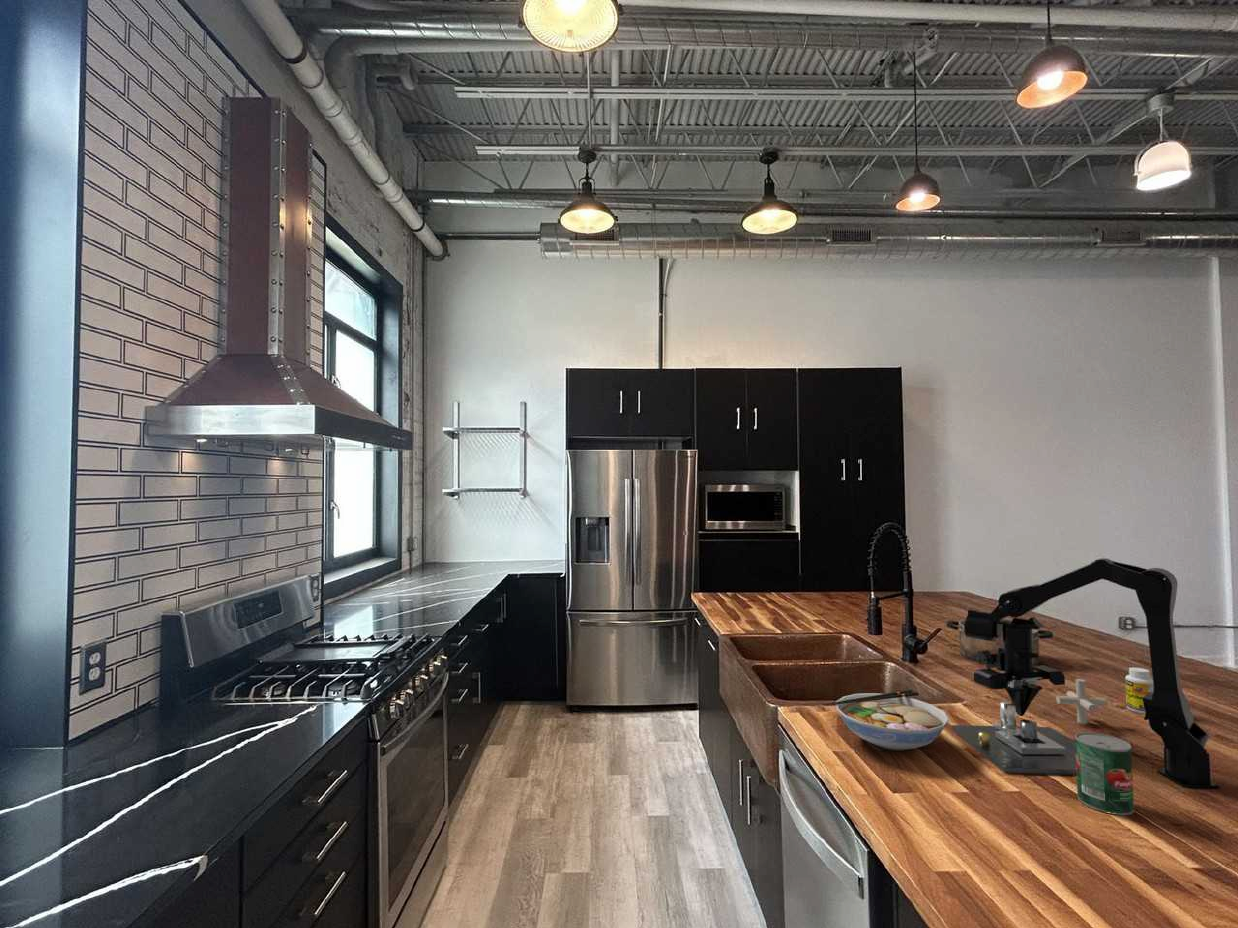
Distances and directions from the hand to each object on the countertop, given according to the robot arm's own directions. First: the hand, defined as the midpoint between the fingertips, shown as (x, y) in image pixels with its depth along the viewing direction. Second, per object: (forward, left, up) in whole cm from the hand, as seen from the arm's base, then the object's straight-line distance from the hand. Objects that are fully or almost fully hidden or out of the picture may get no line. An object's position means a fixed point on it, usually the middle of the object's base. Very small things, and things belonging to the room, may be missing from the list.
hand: (1020, 715), depth 137 cm
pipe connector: (+9, -19, -5) cm, 22 cm away
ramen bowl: (-6, +31, -5) cm, 32 cm away
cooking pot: (+66, -30, -5) cm, 73 cm away
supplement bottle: (+18, -39, -5) cm, 43 cm away
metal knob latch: (-5, +3, -3) cm, 7 cm away
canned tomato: (-30, +3, -5) cm, 30 cm away
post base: (-8, +3, -5) cm, 10 cm away
